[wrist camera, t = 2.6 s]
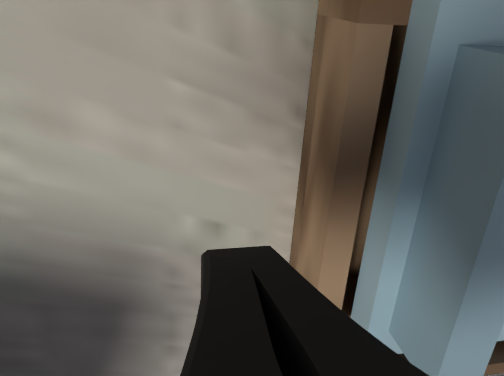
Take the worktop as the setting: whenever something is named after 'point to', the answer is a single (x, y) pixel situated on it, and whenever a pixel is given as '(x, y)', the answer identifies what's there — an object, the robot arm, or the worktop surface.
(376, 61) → the lid box
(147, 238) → the worktop surface
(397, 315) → the lid
